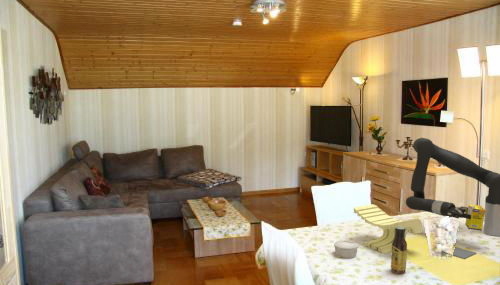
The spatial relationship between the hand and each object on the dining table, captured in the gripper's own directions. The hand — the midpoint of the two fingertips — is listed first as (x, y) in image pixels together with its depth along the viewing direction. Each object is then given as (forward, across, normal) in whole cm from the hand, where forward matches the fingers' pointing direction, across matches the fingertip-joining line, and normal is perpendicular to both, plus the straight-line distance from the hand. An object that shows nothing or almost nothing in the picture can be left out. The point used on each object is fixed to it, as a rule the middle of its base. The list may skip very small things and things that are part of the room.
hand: (475, 215), depth 204 cm
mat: (-1, -12, +16) cm, 21 cm away
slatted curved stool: (-28, -32, +16) cm, 46 cm away
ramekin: (-33, -56, +16) cm, 67 cm away
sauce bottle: (-6, -53, +16) cm, 56 cm away
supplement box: (-1, 0, +7) cm, 7 cm away
